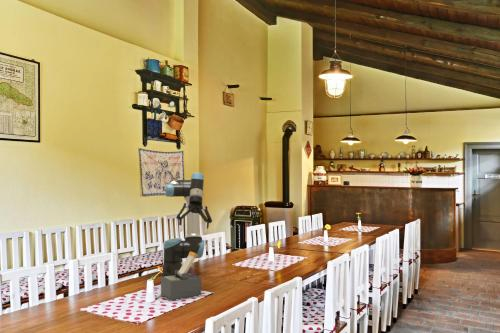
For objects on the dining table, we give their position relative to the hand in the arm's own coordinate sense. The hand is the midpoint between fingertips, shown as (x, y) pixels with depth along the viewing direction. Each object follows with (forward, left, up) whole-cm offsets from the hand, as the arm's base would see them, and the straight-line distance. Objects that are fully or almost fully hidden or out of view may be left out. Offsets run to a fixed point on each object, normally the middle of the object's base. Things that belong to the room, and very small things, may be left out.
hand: (193, 232), depth 250 cm
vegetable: (-17, +7, -34) cm, 39 cm away
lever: (0, -7, -23) cm, 24 cm away
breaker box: (0, -7, -34) cm, 35 cm away
